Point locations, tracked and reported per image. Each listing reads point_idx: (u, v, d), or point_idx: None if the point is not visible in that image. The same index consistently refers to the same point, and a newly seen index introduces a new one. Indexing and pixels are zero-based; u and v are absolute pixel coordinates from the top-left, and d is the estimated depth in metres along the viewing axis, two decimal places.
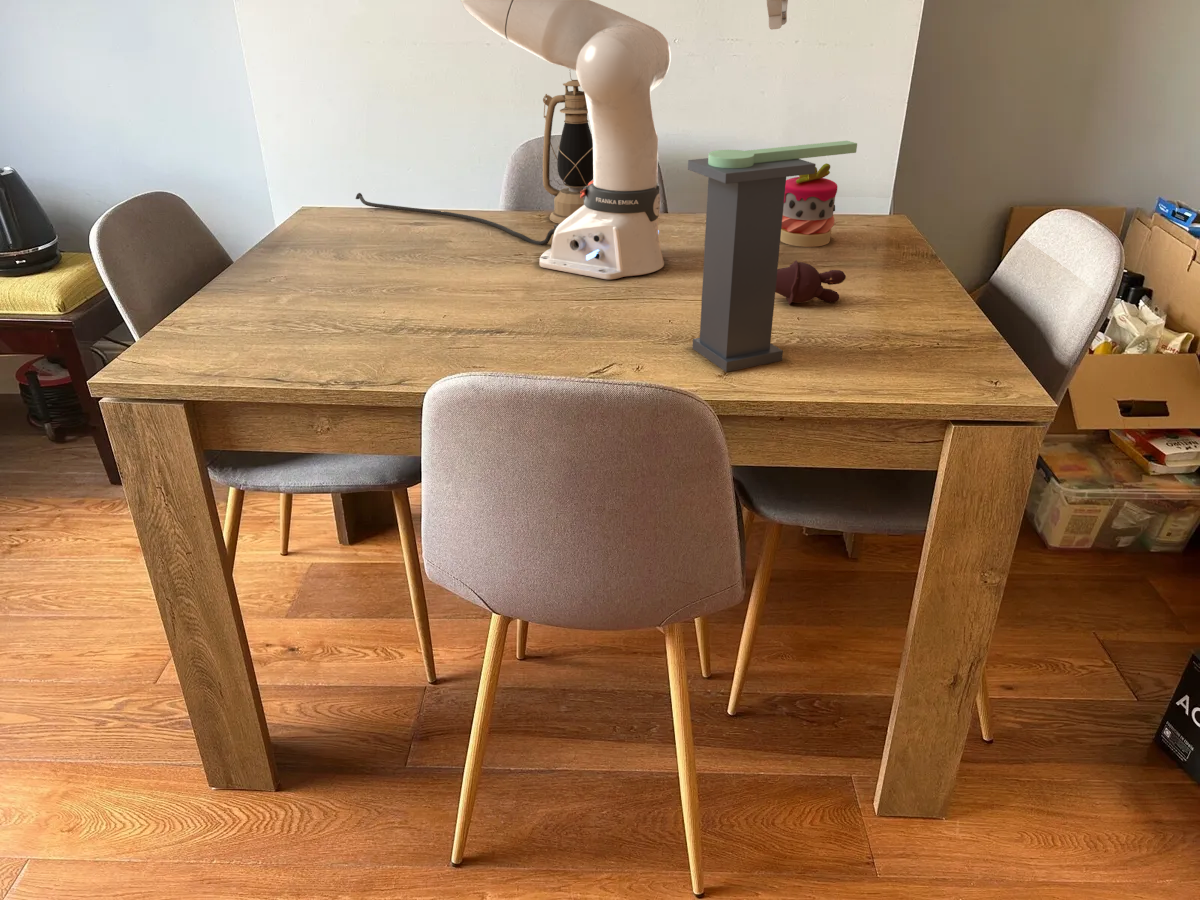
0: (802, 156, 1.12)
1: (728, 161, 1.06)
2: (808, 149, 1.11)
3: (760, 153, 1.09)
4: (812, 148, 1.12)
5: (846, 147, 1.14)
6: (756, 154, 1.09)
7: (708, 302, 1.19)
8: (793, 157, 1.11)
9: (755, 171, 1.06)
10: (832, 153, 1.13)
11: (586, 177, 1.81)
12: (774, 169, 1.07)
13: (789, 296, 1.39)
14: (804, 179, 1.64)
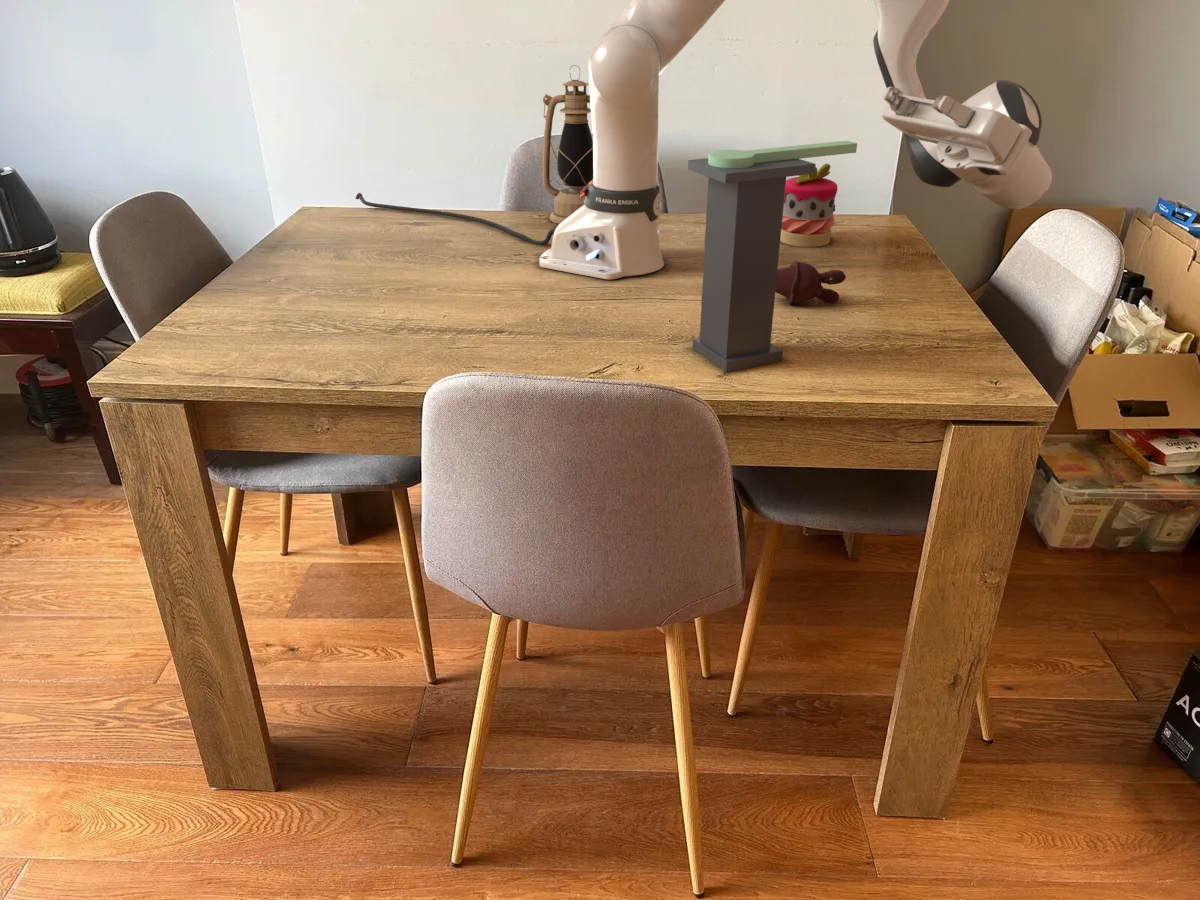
0: (802, 156, 1.12)
1: (728, 161, 1.06)
2: (808, 149, 1.11)
3: (760, 153, 1.09)
4: (812, 148, 1.12)
5: (846, 147, 1.14)
6: (756, 154, 1.09)
7: (708, 302, 1.19)
8: (793, 157, 1.11)
9: (755, 171, 1.06)
10: (832, 153, 1.13)
11: (586, 177, 1.81)
12: (774, 169, 1.07)
13: (789, 296, 1.39)
14: (804, 179, 1.64)
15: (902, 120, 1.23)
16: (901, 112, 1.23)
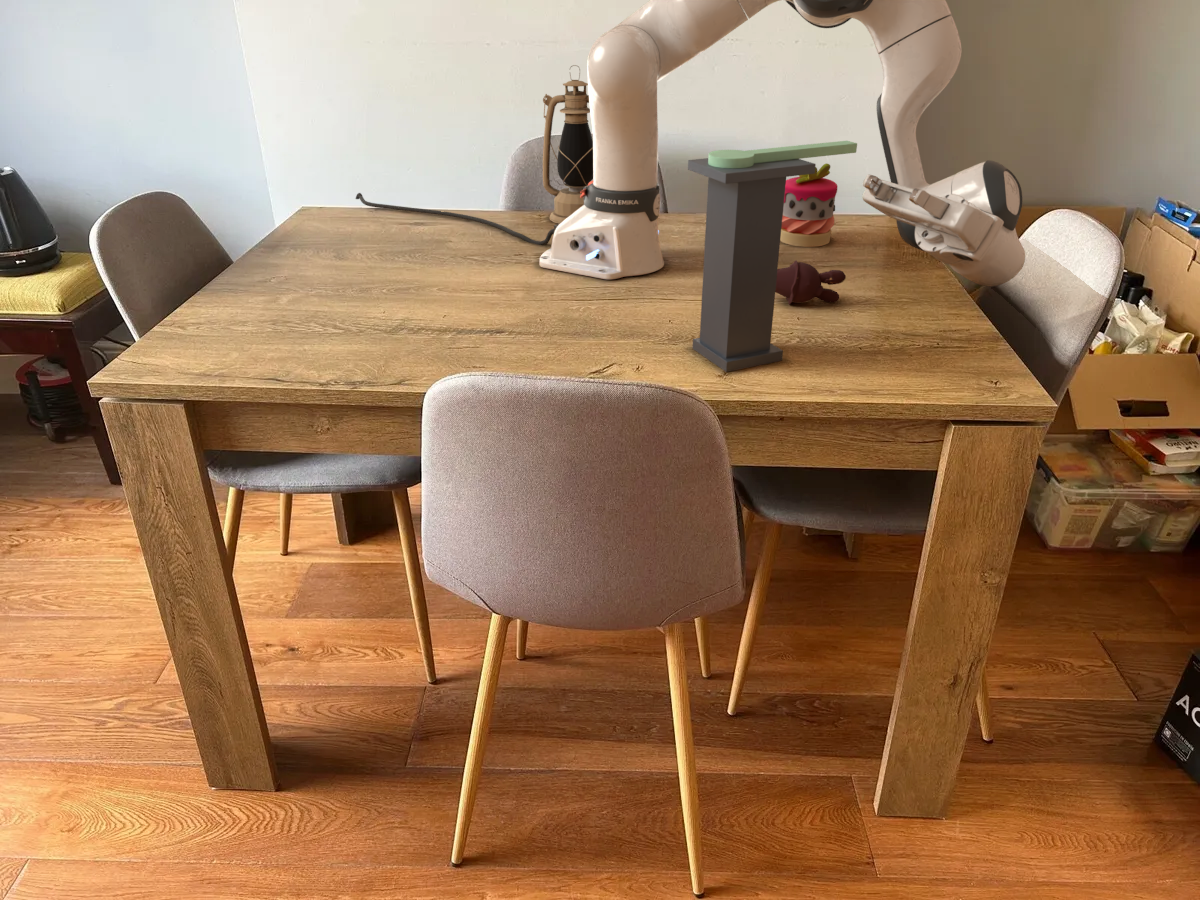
0: (802, 156, 1.12)
1: (728, 161, 1.06)
2: (808, 149, 1.11)
3: (760, 153, 1.09)
4: (812, 148, 1.12)
5: (846, 147, 1.14)
6: (756, 154, 1.09)
7: (708, 302, 1.19)
8: (793, 157, 1.11)
9: (755, 171, 1.06)
10: (832, 153, 1.13)
11: (586, 177, 1.81)
12: (774, 169, 1.07)
13: (789, 296, 1.39)
14: (804, 179, 1.64)
15: (881, 205, 1.28)
16: (880, 197, 1.28)
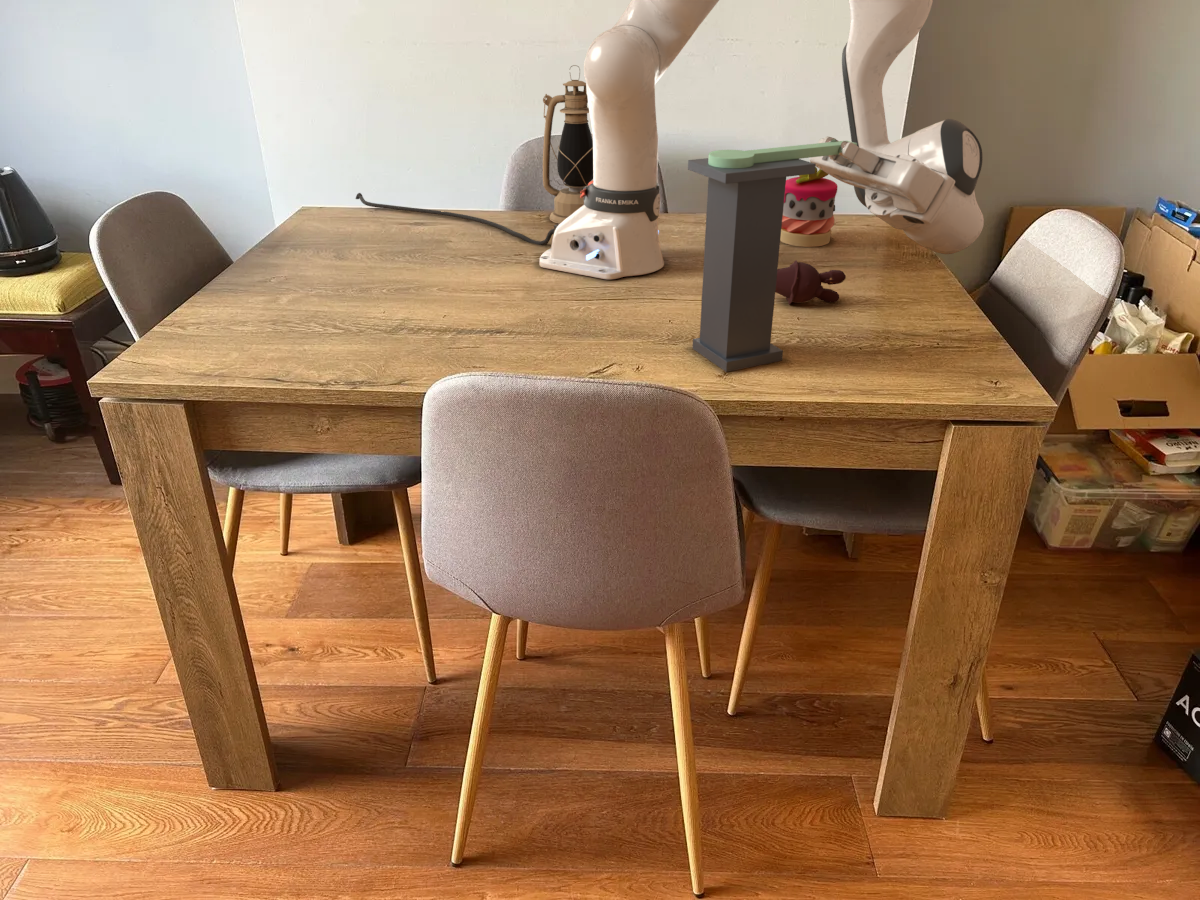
0: (802, 156, 1.12)
1: (729, 161, 1.06)
2: (808, 149, 1.11)
3: (760, 153, 1.09)
4: (812, 148, 1.12)
5: None
6: (756, 154, 1.09)
7: (708, 302, 1.19)
8: (793, 157, 1.11)
9: (755, 171, 1.06)
10: (832, 153, 1.13)
11: (586, 177, 1.81)
12: (774, 169, 1.07)
13: (789, 296, 1.39)
14: (804, 179, 1.64)
15: (828, 166, 1.21)
16: (840, 162, 1.19)
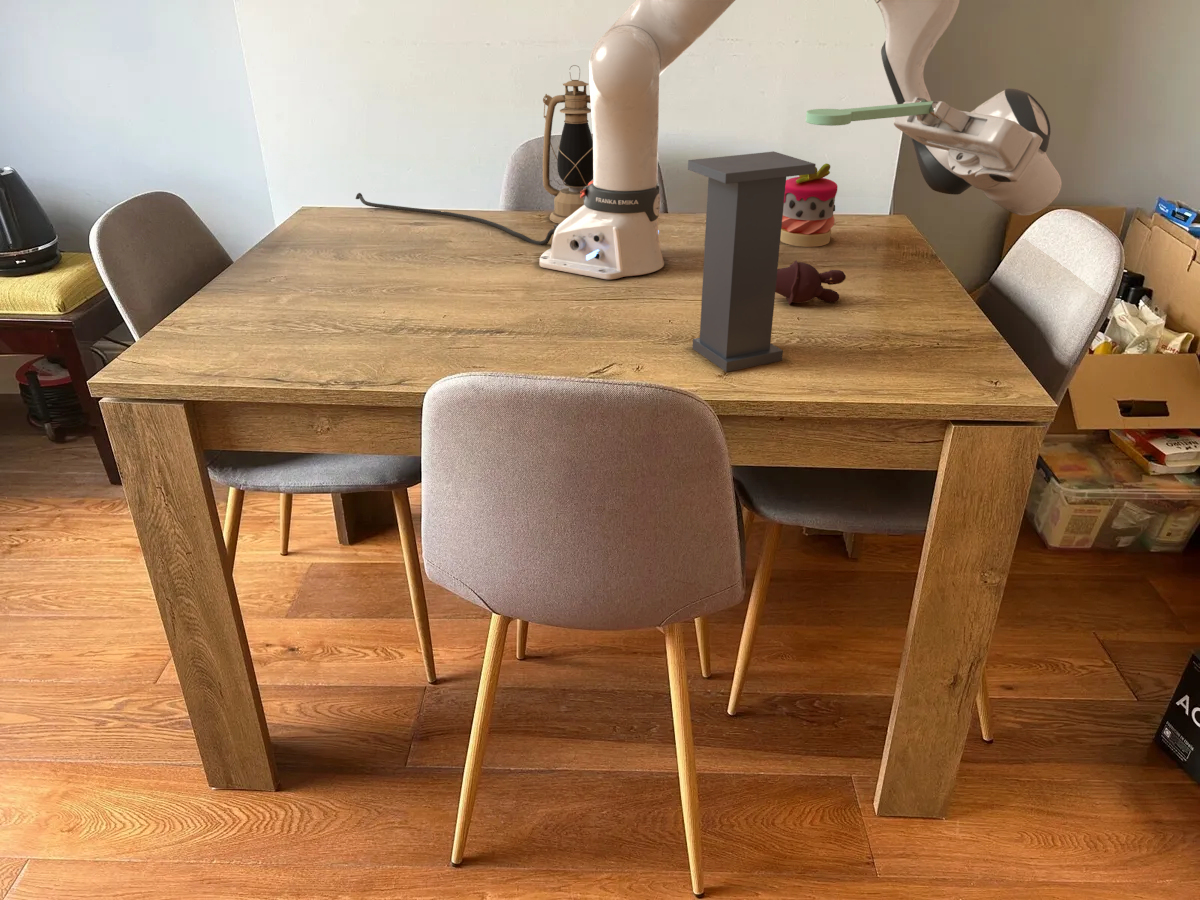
0: (895, 115, 1.15)
1: (828, 118, 1.09)
2: (901, 107, 1.15)
3: (856, 111, 1.12)
4: (905, 107, 1.15)
5: None
6: (853, 112, 1.12)
7: (708, 302, 1.19)
8: (887, 115, 1.14)
9: (755, 171, 1.06)
10: (923, 112, 1.16)
11: (586, 177, 1.81)
12: (774, 169, 1.07)
13: (789, 296, 1.39)
14: (804, 179, 1.64)
15: (913, 127, 1.24)
16: (927, 122, 1.22)
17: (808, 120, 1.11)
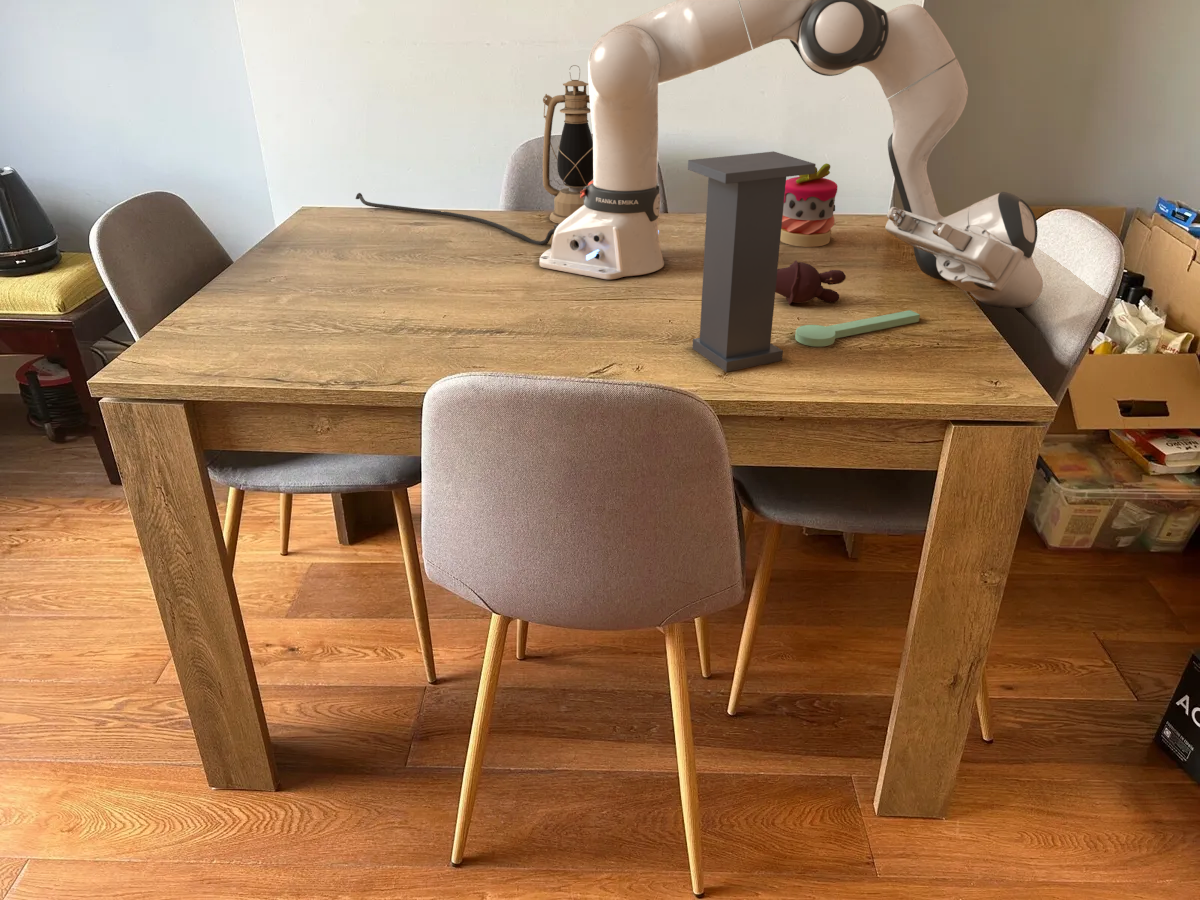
0: (874, 329, 1.30)
1: (815, 341, 1.25)
2: (880, 323, 1.30)
3: (840, 330, 1.27)
4: (882, 322, 1.30)
5: (911, 318, 1.32)
6: (836, 331, 1.27)
7: (708, 302, 1.19)
8: (867, 330, 1.30)
9: (755, 171, 1.06)
10: (899, 324, 1.32)
11: (586, 177, 1.81)
12: (774, 169, 1.07)
13: (789, 296, 1.39)
14: (804, 179, 1.64)
15: (904, 235, 1.33)
16: (903, 228, 1.32)
17: (797, 339, 1.27)
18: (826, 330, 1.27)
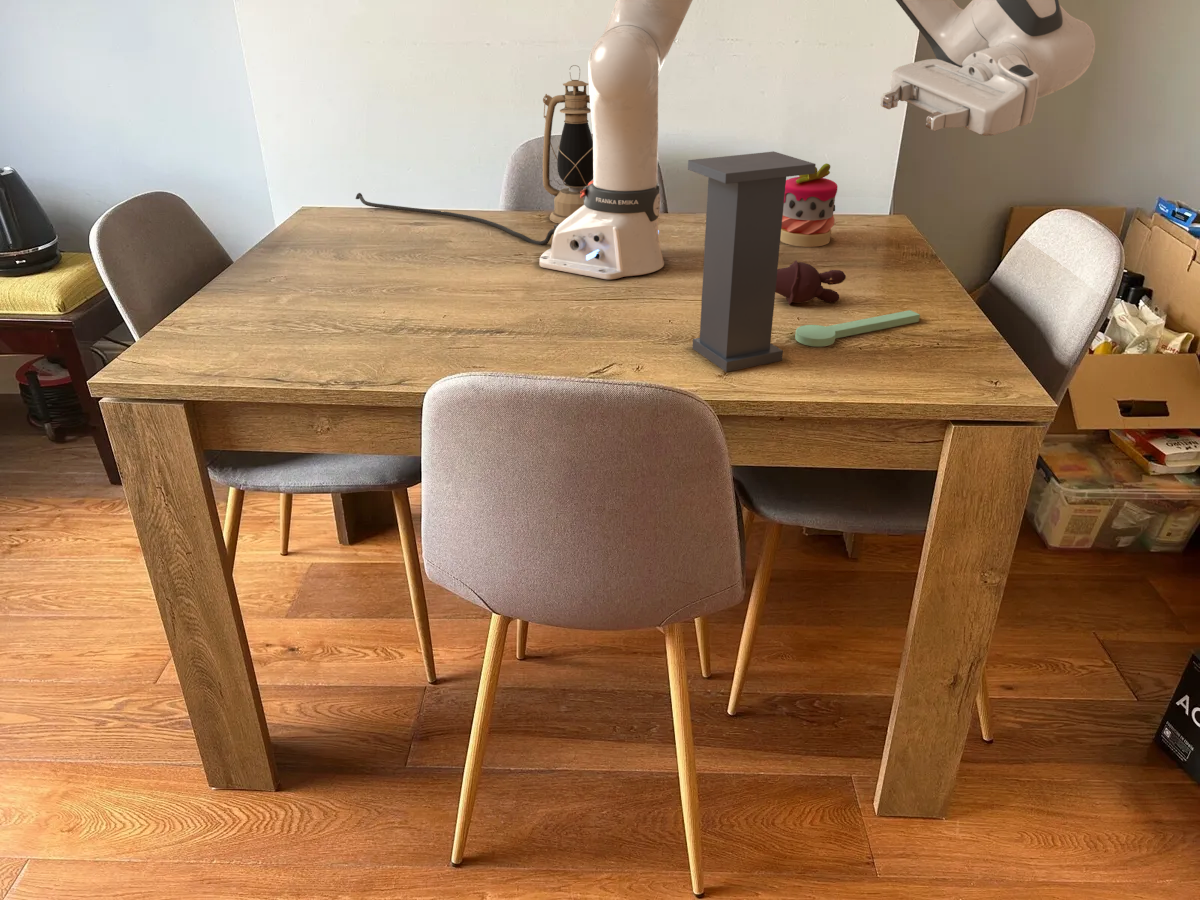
0: (874, 329, 1.30)
1: (815, 341, 1.25)
2: (880, 323, 1.30)
3: (840, 330, 1.27)
4: (882, 322, 1.30)
5: (911, 318, 1.32)
6: (836, 331, 1.27)
7: (708, 302, 1.19)
8: (867, 330, 1.30)
9: (755, 171, 1.06)
10: (899, 324, 1.32)
11: (586, 177, 1.81)
12: (774, 169, 1.07)
13: (789, 296, 1.39)
14: (804, 179, 1.64)
15: (910, 103, 1.25)
16: (906, 99, 1.24)
17: (797, 339, 1.27)
18: (826, 330, 1.27)
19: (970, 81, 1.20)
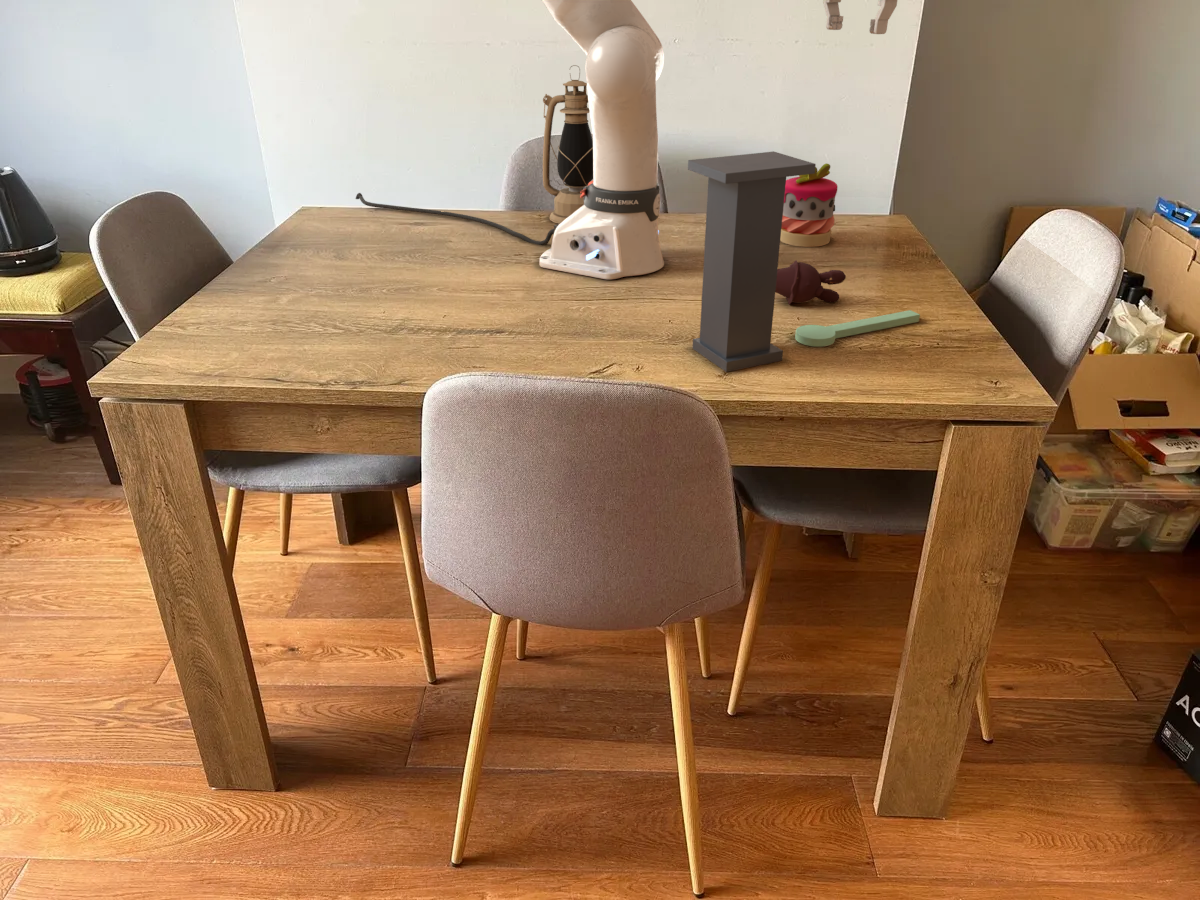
0: (874, 329, 1.30)
1: (815, 341, 1.25)
2: (880, 323, 1.30)
3: (840, 330, 1.27)
4: (882, 322, 1.30)
5: (911, 318, 1.32)
6: (836, 331, 1.27)
7: (708, 302, 1.19)
8: (867, 330, 1.30)
9: (755, 171, 1.06)
10: (899, 324, 1.32)
11: (586, 177, 1.81)
12: (774, 169, 1.07)
13: (789, 296, 1.39)
14: (804, 179, 1.64)
15: None
16: None
17: (797, 339, 1.27)
18: (826, 330, 1.27)
19: None
